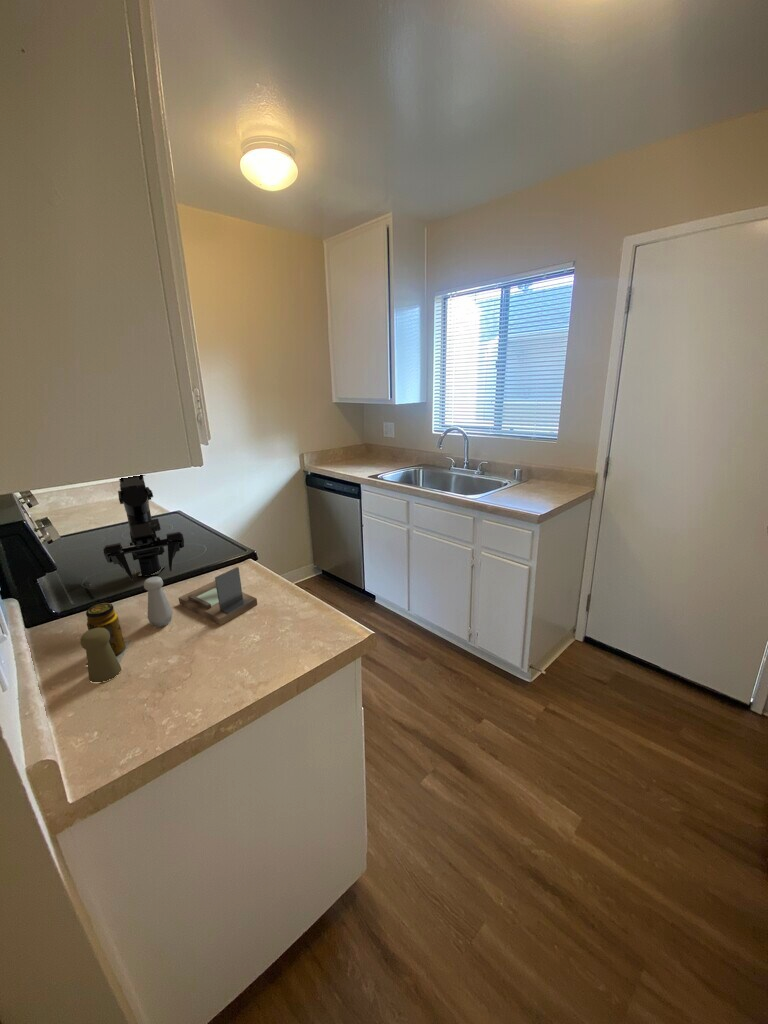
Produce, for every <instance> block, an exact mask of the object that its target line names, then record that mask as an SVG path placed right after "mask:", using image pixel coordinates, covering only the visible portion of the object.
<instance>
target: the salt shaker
mask: <svg viewBox="0 0 768 1024" xmlns="http://www.w3.org/2000/svg"><path fill="white" fill-rule="evenodd" d="M163 586H164V581H163V579H162V577H160V576H150V577H148V578H146V579H145V581H144V582H143V588H144V589H145V590H146V591H147V592H148V593H147V620H148V622H149V623H150V624H151V625H152V627H155V628H162V627H165V626H167V625H169V623H170V622H171V621H172V618H173V610H172V608H171V605H170V604H169V601H168V599H167V596H166V594H165V591H164V590H163Z"/></svg>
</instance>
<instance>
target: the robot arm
mask: <svg viewBox="0 0 768 1024" xmlns="http://www.w3.org/2000/svg"><path fill="white" fill-rule="evenodd" d="M145 476H146V474H145V475H140V476H133V477H128V478H121V479H118V480H119V483H120V484H119V490H118V491H117V493H118V500H119V504H120V505H123V507H124V510H125V512H126V517H127V524H128V527H129V535H130V542H129V545H128V546H122V544H121V542H117V543H112V544H107V545H105V546H104V547H103V555H104V558H105V560H106V562H107V563H108V564H109V563H110V564H111V563H112V564H113V565H119V567H121V569H123V571H124V572H125V573H126V575H127V576H128V578H129V580H130V581H133V580H134V578H133V574H132V571H131V569H130V567H129V563H128V561H127V557H126V555H127V554H131V555H132V560H133V561H137V560H138V564H139V569H140V572H141V574H142V575H151V574H153V573H155V572H157V571H159V570H160V569H161V566H162V565H161V561H160V558H159V557H160V556H162V555H163V554H164V553H165V551H166V550H165V547H167V557H168V558H167V560H168V567H169V569H168V570H169V572H172V571H173V565H174V559H175V556H176V553H177V552H179V551H181V550H180V549H182V548H185V540H184V539H185V538H184V535H183V533H182V532H181V531H177V532H172V533H167V534H166V535H165V536H166V538H163V539H161V538H160V536H157V532H159V531H160V532H161V531H162V529H161V524H160V521H159V518H154V519H153V518H152V515H151V510H150V509H151V508H150V503H149V501H151V500H152V498H154V495H153V490H151V489H150V487H149V486H147V487H146V483H145V479H144V477H145Z"/></svg>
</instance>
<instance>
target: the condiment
mask: <svg viewBox="0 0 768 1024" xmlns="http://www.w3.org/2000/svg"><path fill="white" fill-rule="evenodd" d="M85 615H86V621H87V622H86V627H87V631H89V630H91V629H94V628H105V629H107V630H108V631H109V633H110V640H109V643H110V646H111V648H112V650H113V652H114V654H115V656H116V658H117V660H118V662H119V664H120V663H121V662H122V660H123V659H124V656H125V654H126V652H128V651H127V650H128V649H129V646H130V645H131V643H132V639H131V640H125V639H124V636H123V635H124V634H123V631H122V628H121V627H122V626H121V624H120V619H119V616H118V613H116V611H115V608H114V605H113V603H110V602H102V603H98V604H95V605H93V606H91V607H89V608H88V609H87V610H86V613H85ZM85 665H88V664H87V663H85Z"/></svg>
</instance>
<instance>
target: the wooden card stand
mask: <svg viewBox="0 0 768 1024" xmlns="http://www.w3.org/2000/svg"><path fill="white" fill-rule="evenodd" d="M242 595H243V599H245V600H247V601H249V602H250V603H248V604H246V605H244V606H242V607H241V608H239V609H237V610H235V611H233V612H232V613H230V614H226V613H224V612H222V611H220V606H219V600H218V594H217V588H216V582H215V580H213V581H211V582H209V583H206V584H204V585H202V586H201V587H198V588H196V589H194V590H192V591H190V592H188V593H185V594H183V595H182V596H179V597H178V601H179V605H181V606H183V607H185V608H186V609H189V610H191V611H192V612H194V613H196V614H199V615H200V616H202V617H204V618H206V619H207V620H208V621H212V622H213V623H215V624H217V625H219V626H222V625H224V624H226V623H228V622H229V621H232V620H233V619H235V618H236V617H238V616H239V615H242V614H243V613H245V612H247V611H248V610H250V609H252V608H254V607H256V606H257V605H258V599H257V598H256V597H254V596H252V595H250V594H248V593H245V592H244V591H242Z"/></svg>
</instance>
